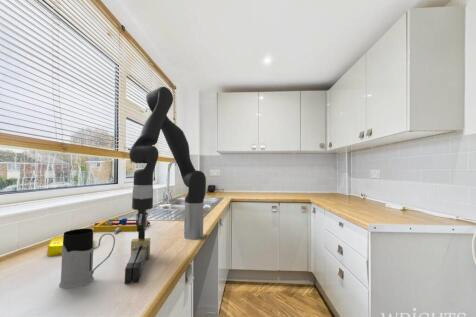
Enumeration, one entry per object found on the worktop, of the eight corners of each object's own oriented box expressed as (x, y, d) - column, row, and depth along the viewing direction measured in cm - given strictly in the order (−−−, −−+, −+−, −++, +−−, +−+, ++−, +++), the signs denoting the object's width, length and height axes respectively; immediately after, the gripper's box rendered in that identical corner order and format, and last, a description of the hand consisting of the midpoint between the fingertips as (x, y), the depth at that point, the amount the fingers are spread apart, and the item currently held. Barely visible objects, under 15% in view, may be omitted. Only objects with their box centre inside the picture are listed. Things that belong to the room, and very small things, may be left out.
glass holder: (63, 278, 74) (65, 229, 74) (114, 270, 79) (116, 225, 80) (54, 292, 66) (57, 237, 66) (112, 282, 71) (114, 232, 72)
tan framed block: (131, 258, 90) (132, 239, 90) (149, 256, 91) (150, 238, 92) (130, 261, 87) (131, 241, 87) (149, 259, 89) (149, 240, 89)
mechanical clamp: (97, 215, 138) (150, 215, 142) (96, 226, 138) (150, 225, 142) (80, 223, 120) (142, 222, 124) (80, 235, 120) (142, 234, 124)
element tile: (92, 241, 111) (93, 231, 111) (92, 251, 98) (93, 239, 98) (52, 246, 103) (52, 235, 103) (46, 258, 90) (46, 245, 91)
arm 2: (142, 258, 90) (142, 246, 90) (147, 257, 91) (147, 245, 91) (132, 283, 71) (132, 267, 71) (138, 282, 71) (139, 267, 71)
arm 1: (134, 258, 90) (134, 246, 90) (139, 258, 90) (140, 246, 90) (124, 284, 70) (125, 268, 70) (131, 283, 71) (131, 267, 71)
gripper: (135, 194, 98) (133, 236, 98) (129, 198, 86) (127, 247, 85) (154, 194, 100) (153, 235, 100) (151, 198, 87) (149, 246, 87)
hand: (141, 241), depth 92 cm, fingers closed
